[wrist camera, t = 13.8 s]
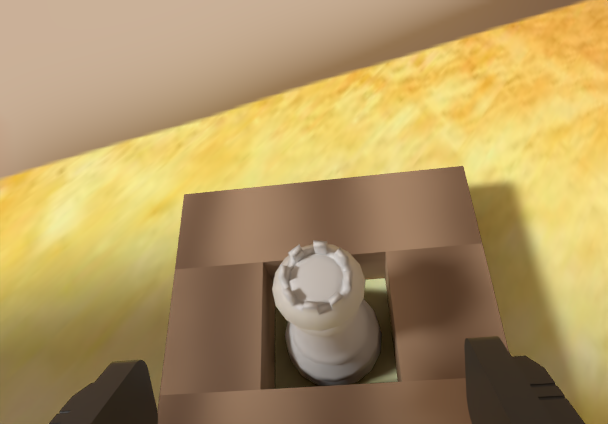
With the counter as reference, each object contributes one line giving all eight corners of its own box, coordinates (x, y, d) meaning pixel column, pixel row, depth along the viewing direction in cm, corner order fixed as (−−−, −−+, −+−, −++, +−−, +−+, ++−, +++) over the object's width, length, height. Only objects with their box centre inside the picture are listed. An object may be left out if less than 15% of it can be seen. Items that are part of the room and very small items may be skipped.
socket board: (175, 514, 20) (144, 517, 17) (202, 223, 27) (184, 194, 25) (523, 504, 18) (546, 505, 16) (455, 198, 26) (463, 166, 23)
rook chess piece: (312, 408, 21) (280, 366, 14) (273, 321, 24) (230, 250, 17) (400, 361, 22) (409, 300, 15) (353, 281, 24) (343, 196, 17)
